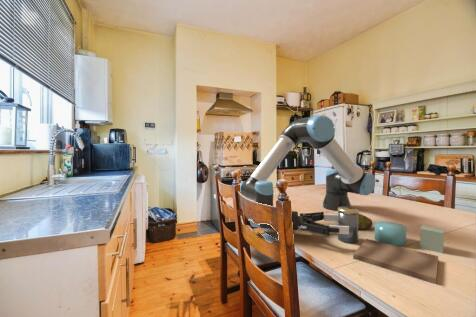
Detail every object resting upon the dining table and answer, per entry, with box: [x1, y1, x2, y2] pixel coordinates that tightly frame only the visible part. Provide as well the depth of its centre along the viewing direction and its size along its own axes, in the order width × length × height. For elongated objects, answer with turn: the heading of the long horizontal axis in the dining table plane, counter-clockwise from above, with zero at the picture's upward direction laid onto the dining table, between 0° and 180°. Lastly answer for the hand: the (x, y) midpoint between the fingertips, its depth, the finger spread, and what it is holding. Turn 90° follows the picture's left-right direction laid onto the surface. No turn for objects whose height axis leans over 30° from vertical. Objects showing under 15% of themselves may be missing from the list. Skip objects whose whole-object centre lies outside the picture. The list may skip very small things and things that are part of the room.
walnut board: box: [352, 238, 439, 285], centre depth 71 cm, size 20×16×2 cm
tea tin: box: [337, 206, 360, 245], centre depth 86 cm, size 7×7×12 cm
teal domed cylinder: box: [374, 220, 407, 247], centre depth 85 cm, size 10×10×6 cm
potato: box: [358, 213, 373, 230], centre depth 99 cm, size 8×13×8 cm, turn 53°
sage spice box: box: [419, 224, 445, 254], centre depth 78 cm, size 6×5×7 cm
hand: (344, 223), depth 86 cm, fingers open, 13 cm apart
